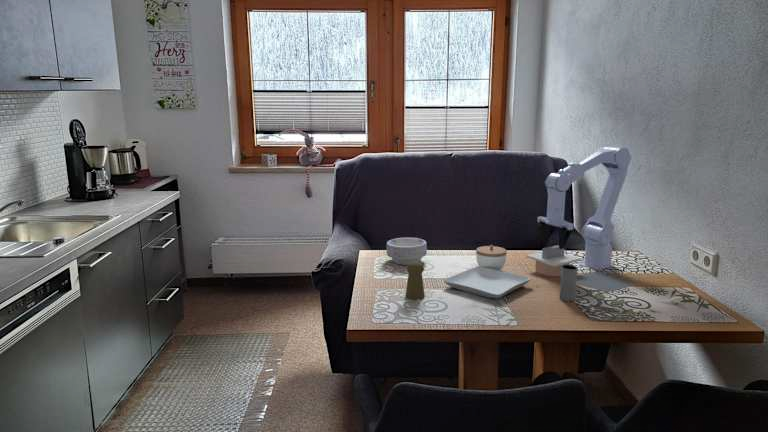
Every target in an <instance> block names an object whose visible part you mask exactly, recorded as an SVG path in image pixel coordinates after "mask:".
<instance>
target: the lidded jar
mask: <svg viewBox="0 0 768 432" xmlns="http://www.w3.org/2000/svg"><path fill="white" fill-rule="evenodd" d="M475 253H476V254H475V255H476V263H477V265H478V266H479V267H484V268H489V269H494V270H499V271H502V269H503V267H504V266H505V264H506V260H507V249H506V248H504V247H500V246H494V245H492V244H490V245H483V246H479V247H477V248H476V249H475Z"/></svg>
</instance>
